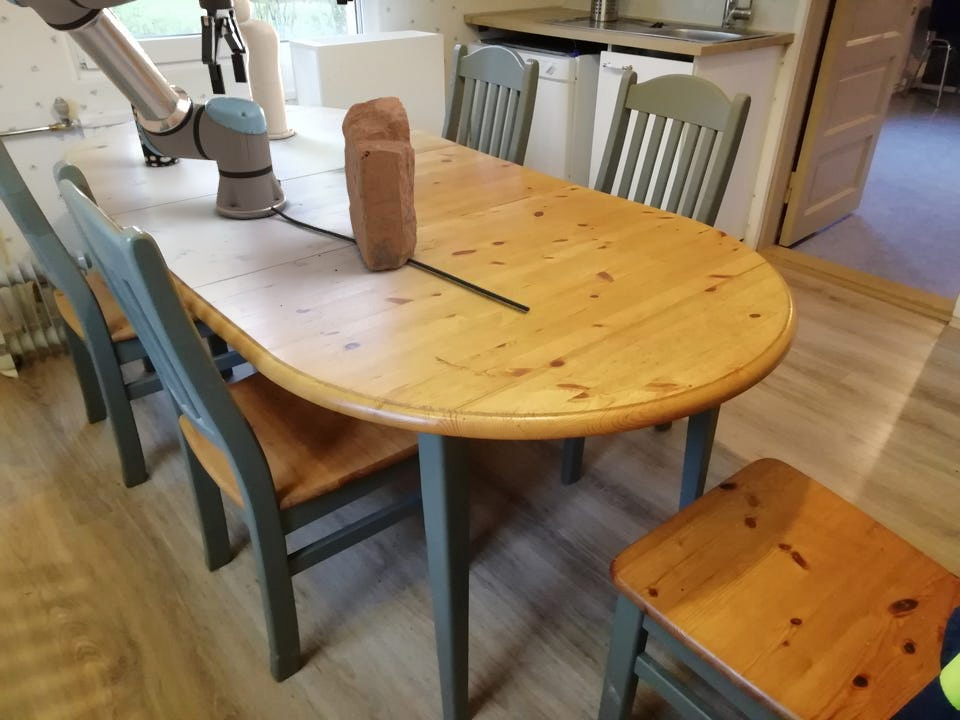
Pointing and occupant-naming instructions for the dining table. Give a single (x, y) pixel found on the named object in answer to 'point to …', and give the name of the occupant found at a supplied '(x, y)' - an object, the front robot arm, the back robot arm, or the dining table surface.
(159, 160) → the polka dot cylinder
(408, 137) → the stone
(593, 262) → the dining table surface
